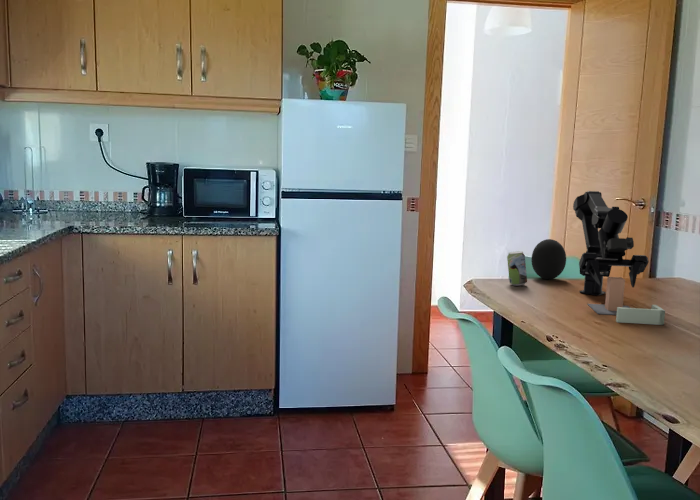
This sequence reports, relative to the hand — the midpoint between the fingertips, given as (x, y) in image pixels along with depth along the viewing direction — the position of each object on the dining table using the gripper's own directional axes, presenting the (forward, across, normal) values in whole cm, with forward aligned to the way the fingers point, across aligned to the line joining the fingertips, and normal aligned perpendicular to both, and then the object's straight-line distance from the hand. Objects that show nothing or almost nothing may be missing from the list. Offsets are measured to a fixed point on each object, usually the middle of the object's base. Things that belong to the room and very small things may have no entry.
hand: (617, 285), depth 181 cm
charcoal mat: (+4, 0, +6) cm, 8 cm away
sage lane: (+12, +3, -1) cm, 13 cm away
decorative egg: (-28, -11, +40) cm, 50 cm away
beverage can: (-18, -24, +29) cm, 42 cm away
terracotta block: (+4, 0, +6) cm, 8 cm away
